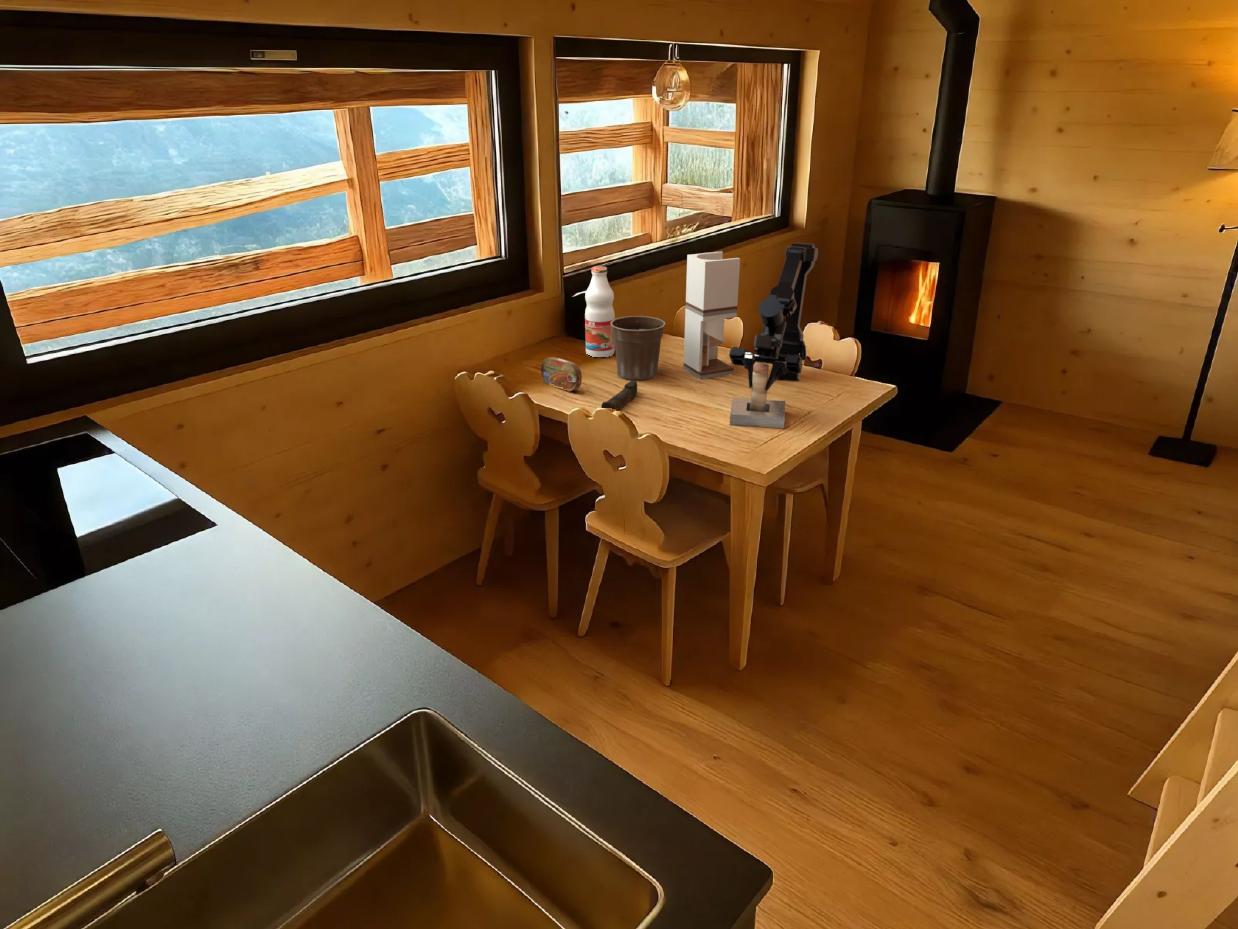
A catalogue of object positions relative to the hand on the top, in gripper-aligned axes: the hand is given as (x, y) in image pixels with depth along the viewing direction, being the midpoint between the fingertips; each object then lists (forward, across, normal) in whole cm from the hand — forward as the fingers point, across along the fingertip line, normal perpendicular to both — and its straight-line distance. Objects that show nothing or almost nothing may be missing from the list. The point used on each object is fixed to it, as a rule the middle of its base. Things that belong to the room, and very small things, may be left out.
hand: (758, 388), depth 220 cm
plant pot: (-8, -43, +21) cm, 48 cm away
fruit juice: (-18, -61, +30) cm, 71 cm away
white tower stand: (-16, -24, +29) cm, 41 cm away
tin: (+5, -59, +8) cm, 59 cm away
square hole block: (+5, 0, +7) cm, 9 cm away
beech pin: (+4, 0, +6) cm, 7 cm away
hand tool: (+9, -38, +4) cm, 39 cm away
